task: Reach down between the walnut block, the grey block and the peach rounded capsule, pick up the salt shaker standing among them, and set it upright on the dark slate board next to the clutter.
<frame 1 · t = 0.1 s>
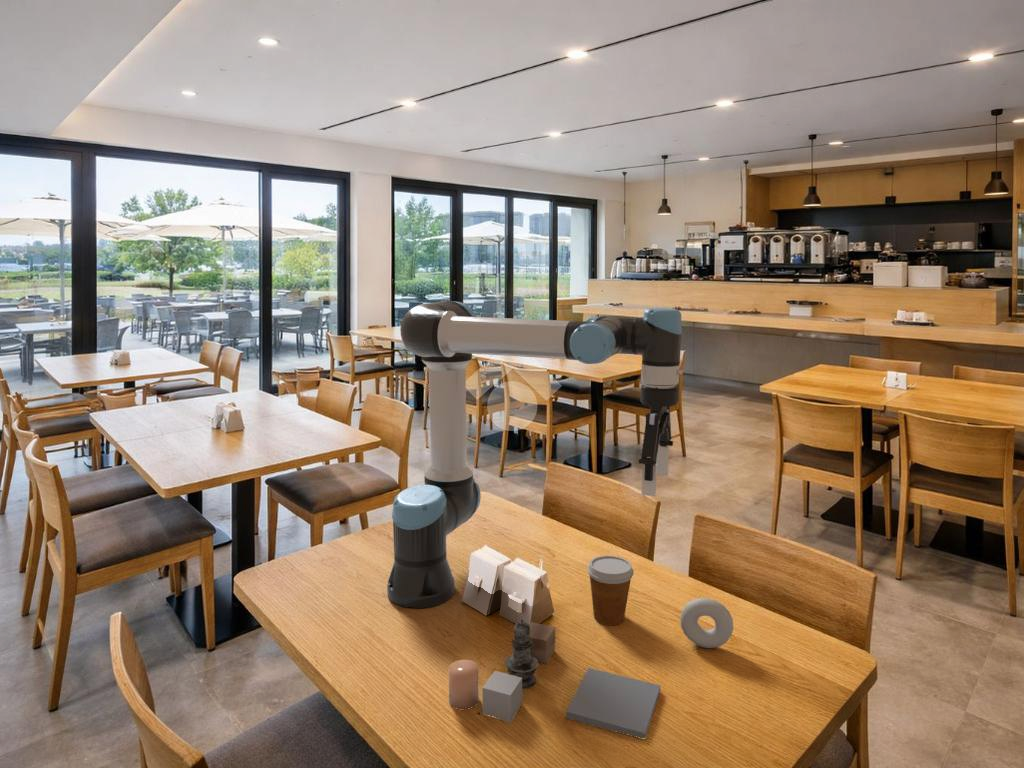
hand: (655, 484, 139), 28 cm above the table, tool pointing down, fingers open, 13 cm apart
slate board: (614, 704, 112), on the table
grey block: (502, 709, 111), on the table
donut: (705, 647, 130), on the table
peach rounded capsule: (463, 700, 113), on the table
walnut block: (538, 655, 126), on the table
salt shaker: (521, 681, 119), on the table
disposable coffee cup: (608, 618, 140), on the table
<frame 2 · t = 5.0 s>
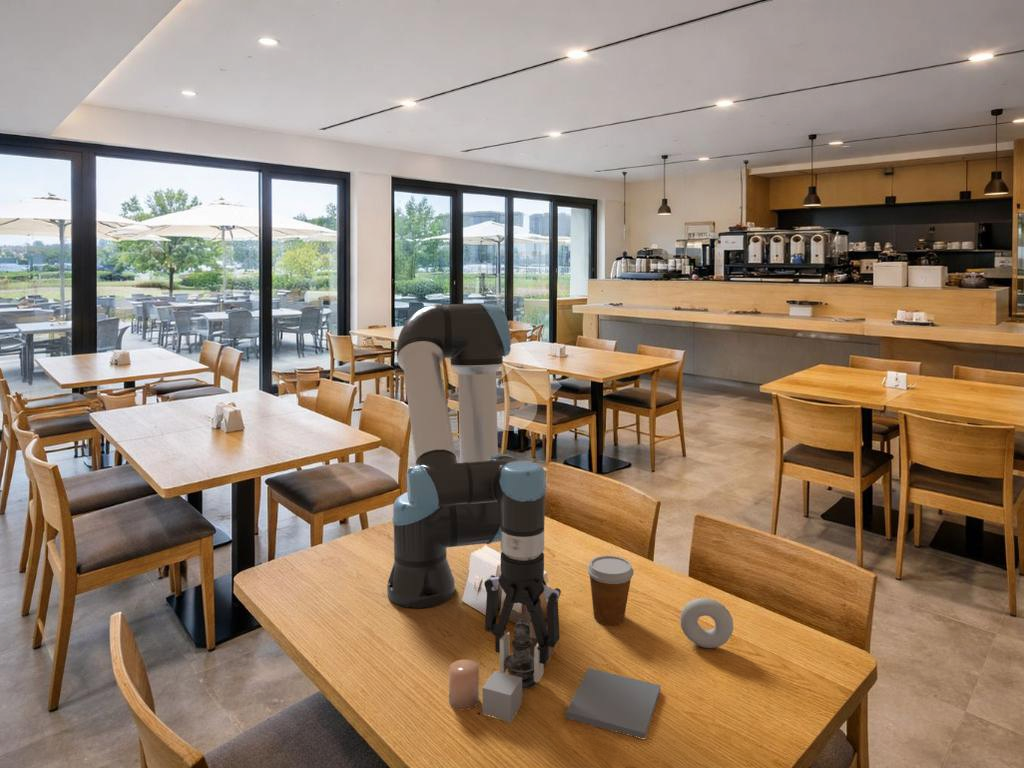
hand: (521, 673, 118), 1 cm above the table, tool pointing down, fingers closed on salt shaker, 6 cm apart
salt shaker: (521, 681, 119), on the table, touching gripper
everything else where it was.
when the fingers open (4 cm above the table, at t = 11.0 s): salt shaker drops 1 cm, resting on slate board.
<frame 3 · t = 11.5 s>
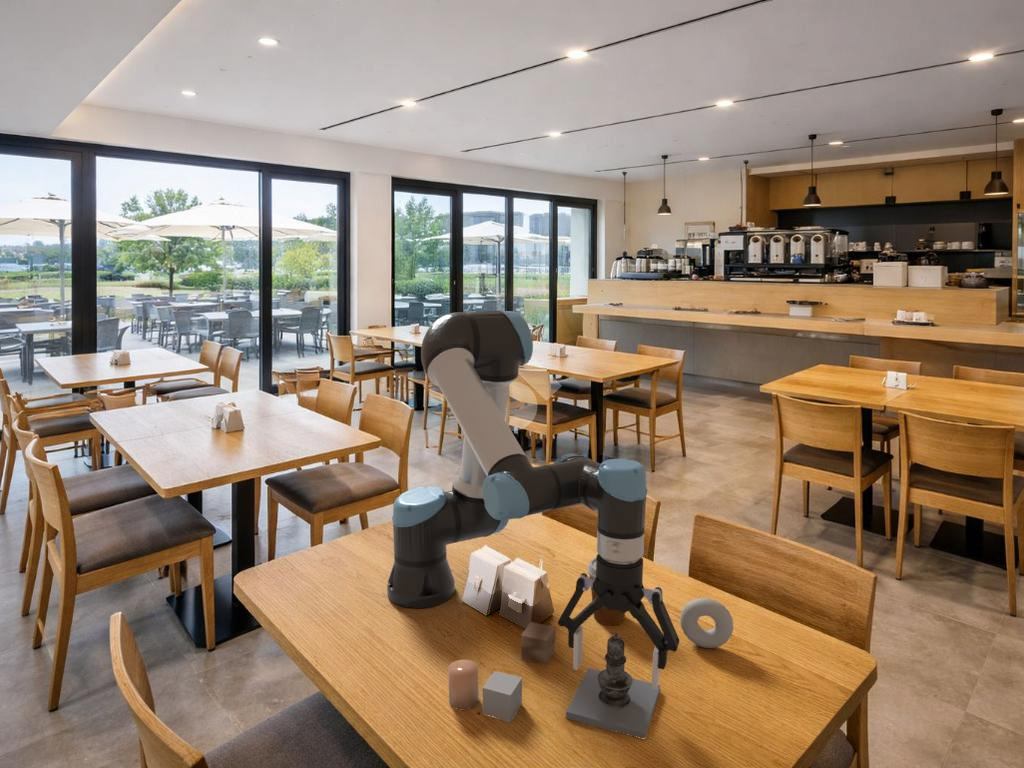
hand: (615, 674, 111), 6 cm above the table, tool pointing down, fingers open, 13 cm apart
salt shaker: (614, 698, 112), point 1 cm above the table, touching slate board
everything else where it was.
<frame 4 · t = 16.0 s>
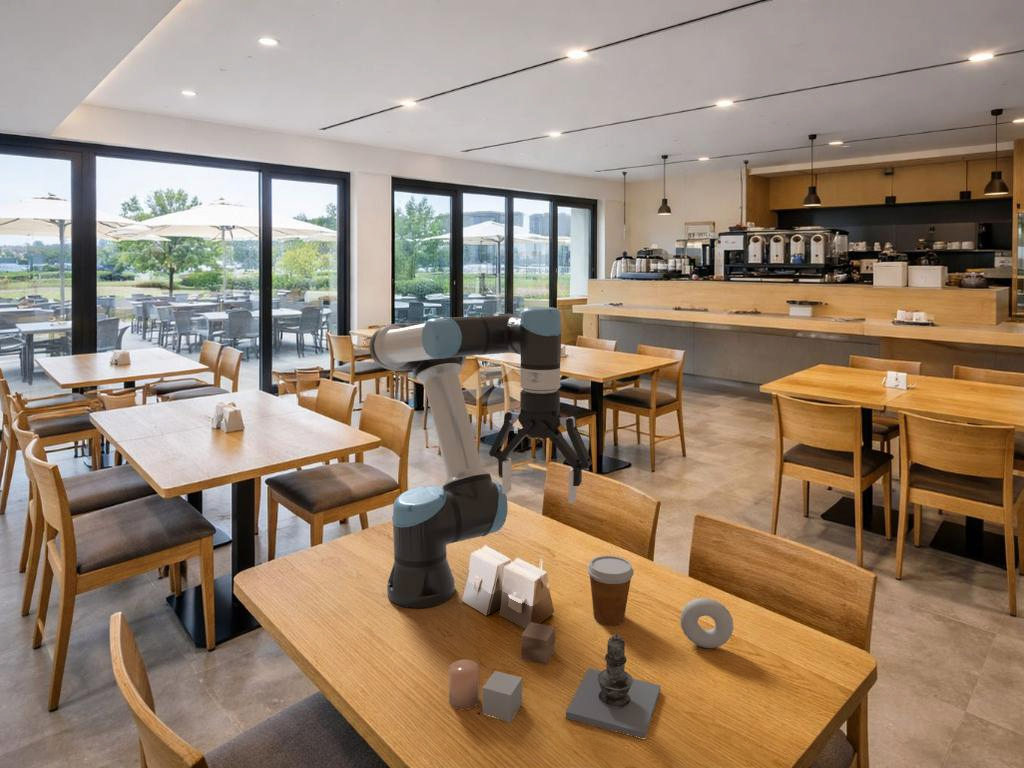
hand: (538, 496, 129), 29 cm above the table, tool pointing down, fingers open, 13 cm apart
nothing on the table moved.
at the end: salt shaker inside the target area on the slate board (0.1 cm from its centre), point 1.0 cm above the slate board's base; salt shaker tilted 0°; the gripper is holding nothing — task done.
